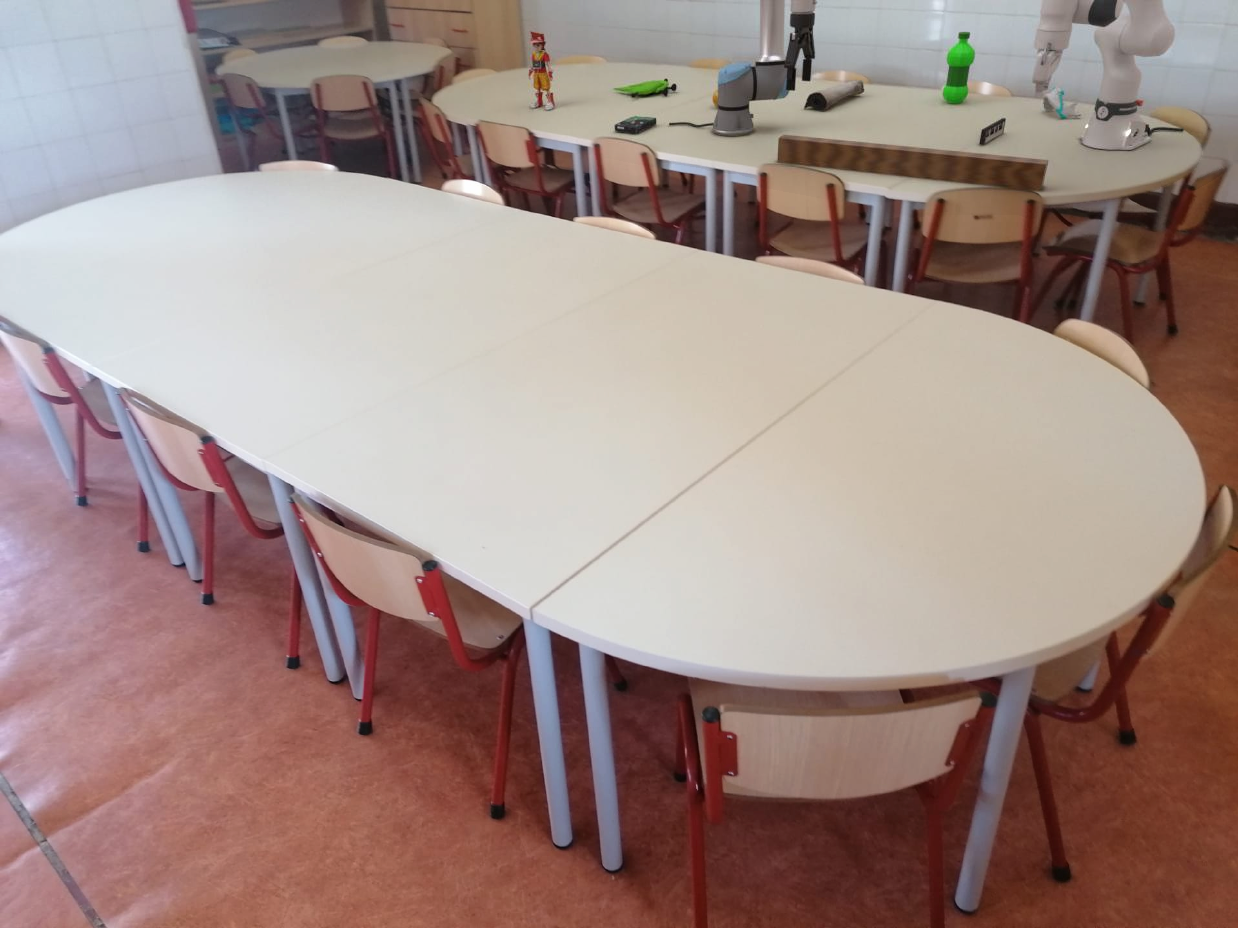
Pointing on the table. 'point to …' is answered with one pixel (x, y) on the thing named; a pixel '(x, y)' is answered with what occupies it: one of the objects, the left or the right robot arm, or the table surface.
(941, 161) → the bar
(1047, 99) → the anatomical model
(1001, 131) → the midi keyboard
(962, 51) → the plastic bottle
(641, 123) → the disk drive
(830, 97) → the rolled mat
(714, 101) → the fruit
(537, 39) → the toy
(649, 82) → the toy
